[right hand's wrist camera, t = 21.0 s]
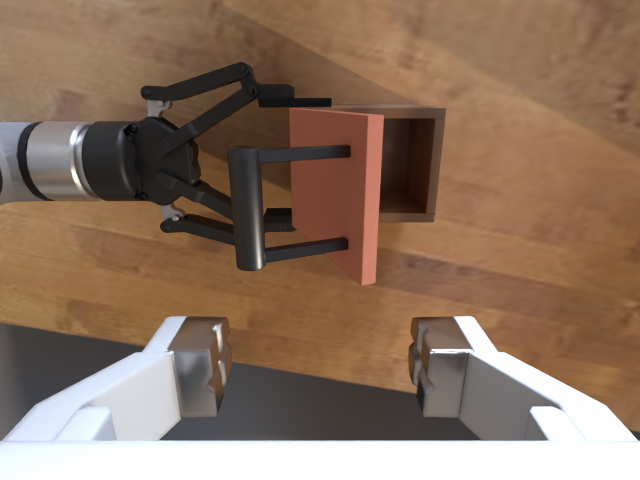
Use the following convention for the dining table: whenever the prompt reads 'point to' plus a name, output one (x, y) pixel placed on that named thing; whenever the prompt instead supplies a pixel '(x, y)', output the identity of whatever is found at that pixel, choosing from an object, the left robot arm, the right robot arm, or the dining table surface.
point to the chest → (406, 159)
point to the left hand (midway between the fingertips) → (330, 161)
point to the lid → (315, 191)
